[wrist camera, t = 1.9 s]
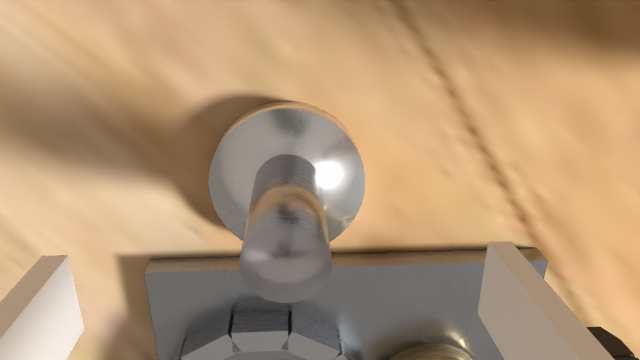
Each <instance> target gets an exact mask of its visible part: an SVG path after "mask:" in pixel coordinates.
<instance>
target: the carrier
mask: <svg viewBox="0 0 640 360" xmlns="http://www.w3.org/2000/svg"><path fill="white" fill-rule="evenodd" d="M518 250H519V251H520V252H521V254H522V255H523V256H524V257H525V258H526V259H527V260H528V262H529V263H530V264H531V265H532V266H533V267H534V268H535V270H536V271H537V272H538V273H539V274H540V275H541V276H542V277H543V279H544V276H545V272H546V267H547V263H548V260H547V259H546V258H545V257H544V256H543V255H542V253H541V252H540V251H539V250H538V249H537V248H526V249H518ZM486 253H487V250H456V251H421V252H387V253H352V254H331V256H332V270H331V274H330V276H329V279H328V280H327V282H326V284H325V285H324V286H323V288H322V289H321V290H319V291H318V292H317V293H316V294H314V295H313V296H311V297H309V298H307V299H305V300H302V301H299V302H294V303H277V302H272V301H269V300H266V299H264V298H262V297H260V296H258V295H257V294H255V293H254V292H253V291H252V290H251V289H250V288H249V287H248V286H247V285H246V283H245V282H244V280H243V278H242V275H241V272H240V257H213V258H178V259H151V260H150V262H149V264H148V266H147V268H146V270H145V272H144V275H145V281H146V287H147V293H148V300H149V306H150V312H151V318H152V324H153V330H154V336H155V342H156V349H157V355H158V360H504V358H503V356H502V355H501V353H500V351H499V349H498V348H497V346H496V344H495V343H494V341H493V339H492V337H491V336H490V334H489V332H488V331H487V329H486V327H485V325H484V324H483V322H482V320H481V319H480V317H479V315H478V306H479V299H480V293H481V286H482V279H483V273H484V266H485V259H486Z"/></svg>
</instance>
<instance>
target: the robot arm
mask: <svg viewBox="0 0 640 360" xmlns="http://www.w3.org/2000/svg"><path fill="white" fill-rule="evenodd" d="M478 315H479V317H480V319H481V320H482V322H483V324H484V325H485V327H486V329H487V331H488V332H489V334H490V336H491V337H492V339H493V341H494V343H495V344H496V346H497V348H498V349H499V351H500V353H501V355H502V356H503V358H504V360H639V359H638V358H635V356H634V354H633V353H632V352H631V351H630V350H629V348H628V347H627V346H626V345H625V344H624V343H623V342H622V341H621V340H620V339H618V338H617V337H615V336H614V335H612V334H611V333H609V332H608V331H606V330H605V329H603V328H601V327H585V325H584V324H583V323H582V322H581V321H580V320H579V319H578V317H577V316H576V315H575V314H574V313H573V312H572V311H571V309H570V308H569V307H568V306H567V305H566V304H565V303H564V301H563V300H562V299H561V298H560V297H559V296H558V295H557V293H556V292H555V291H554V290H553V289H552V288H551V287H550V285H549V284H548V283H547V282H546V281H545V280H544V279H543V277H542V276H541V275H540V274H539V273H538V272H537V271H536V270H535V268H534V267H533V266H532V265H531V264H530V263H529V262H528V260H527V259H526V258H525V257H524V256H523V255H522V254H521V252H520V251H519V250H518V249H517V248H516V247H515V246H514V244H513V243H512V242H489V243H488V246H487V253H486V259H485V266H484V273H483V279H482V286H481V293H480V299H479V306H478ZM83 330H84V325H83V321H82V316H81V312H80V307H79V303H78V298H77V294H76V289H75V284H74V280H73V275H72V271H71V266H70V262H69V257H68V255H60V256H42V257H41V258H40V259H39V260H38V261H37V262H36V263H35V264H34V266H33V267H32V268H31V269H30V270H29V271H28V272H27V273H26V274H25V276H24V277H23V278H22V279H21V280H20V281H19V282H18V283H17V284H16V286H15V287H14V288H13V289H12V290H11V291H10V292H9V293H8V294H7V296H6V297H5V298H4V299H3V300H2V301H1V302H0V360H66V359H67V357H68V355H69V354H70V352H71V350H72V349H73V347H74V345H75V344H76V342H77V340H78V338H79V337H80V335H81V333H82V332H83Z"/></svg>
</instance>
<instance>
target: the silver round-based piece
mask: <svg viewBox="0 0 640 360" xmlns="http://www.w3.org/2000/svg"><path fill="white" fill-rule="evenodd" d="M364 190H365V173H364V167H363V163H362V160H361V157H360V154H359V152H358V149H357V147H356V144H355V142H354V140H353V138H352V137H351V135H350V134H349V132H348V131H347V129H346V128H345V127H344V126H343V125H342V124H341V123H340V122H339V121H338V120H337V119H336V118H335V117H333V116H332V115H330V114H329V113H327V112H326V111H324V110H322V109H320V108H318V107H315V106H312V105H309V104H305V103H300V102H290V101H283V102H274V103H269V104H265V105H262V106H259V107H256V108H254V109H252V110H250V111H248V112H247V113H245V114H244V115H242V116H241V117H239V118H238V119H237V120H236V121H235V122H234V123H233V124H232V125H231V126H230V127H229V128H228V129H227V131H226V132H225V134H224V135H223V137H222V138H221V140H220V143H219V145H218V147H217V149H216V152H215V154H214V156H213V158H212V162H211V166H210V170H209V192H210V197H211V200H212V204H213V206H214V208H215V211H216V213H217V215H218V216H219V218H220V219H221V221H222V222H223V223H224V225H225V226H226V227H227V228H228V229H229V230H230V231H231V232H232V233H233V234H234V235H235V236H237V237H238V238H240V239H241V240H242V241H243V245H242V250H241V255H240V272H241V275H242V278H243V280H244V282H245V283H246V285H247V286H248V287H249V288H250V289H251V290H252V291H253V292H254V293H255V294H257V295H258V296H260V297H262V298H264V299H266V300H269V301H272V302H277V303H294V302H299V301H302V300H305V299H307V298H309V297H311V296H313V295H314V294H316V293H317V292H318V291H319V290H321V289H322V288H323V286H324V285H325V284H326V282H327V280H328V279H329V276H330V274H331V270H332V256H331V249H330V241H331V240H333V239H335V238H336V237H337V236H338V235H340V234H341V233H342V232H343V231H344V230H345V229H346V228H347V227H348V226H349V225H350V223H351V222H352V221H353V219H354V218H355V216H356V214H357V213H358V211H359V208H360V206H361V203H362V200H363V196H364Z"/></svg>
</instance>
